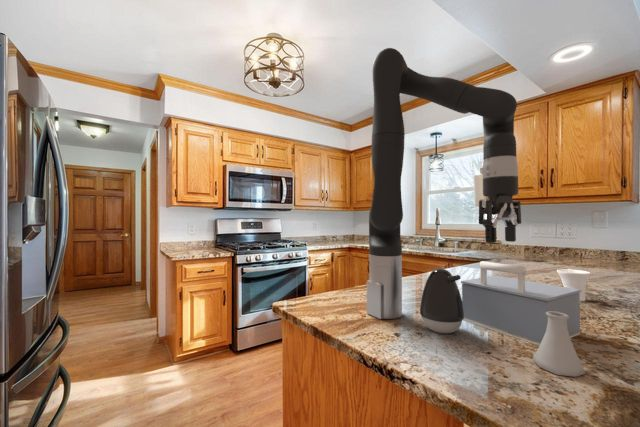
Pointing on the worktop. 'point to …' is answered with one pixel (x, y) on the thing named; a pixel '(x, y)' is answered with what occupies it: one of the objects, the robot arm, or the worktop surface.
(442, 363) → the worktop surface
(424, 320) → the pump dispenser
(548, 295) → the lid flap
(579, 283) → the cup
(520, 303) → the carton
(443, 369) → the worktop surface
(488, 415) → the worktop surface
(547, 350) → the flask
